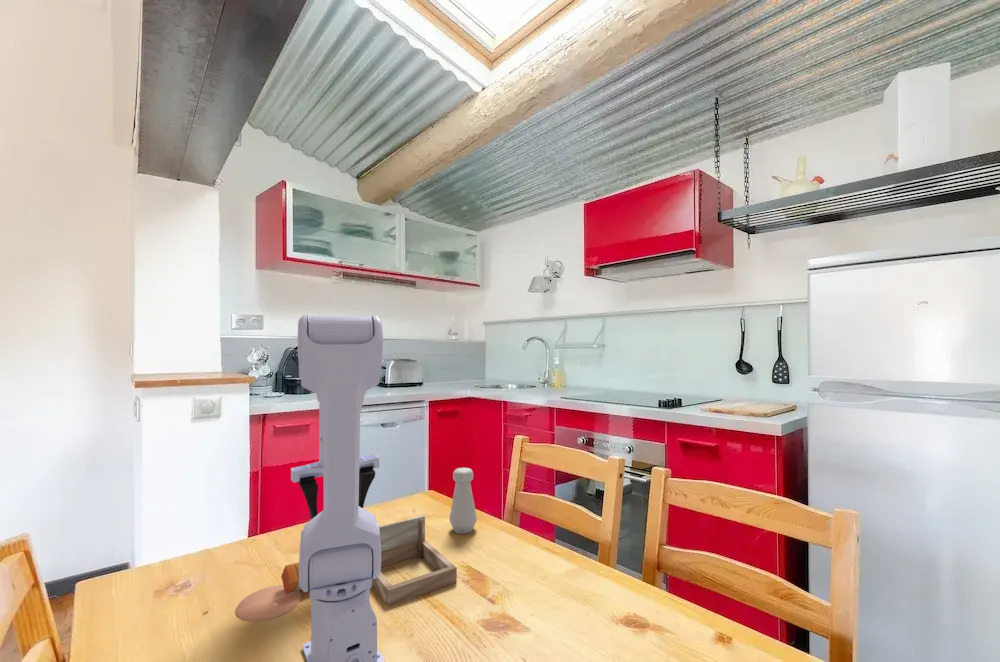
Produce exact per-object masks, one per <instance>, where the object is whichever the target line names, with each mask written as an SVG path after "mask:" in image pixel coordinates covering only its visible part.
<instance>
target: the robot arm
mask: <svg viewBox="0 0 1000 662" xmlns="http://www.w3.org/2000/svg"><path fill="white" fill-rule="evenodd" d="M297 322H298V323H297V359H298V377H299V379H300V381H301V382H300V383H301V387H302V388H303V389H306V390H308V391H309V392H313V393H314V394H316V400H317V403H319V404H318V405H319V406H318V408H319V413H318V414H319V415H318V418H319V420H318V421H319V429H318V431H319V434H318V436H319V444H318V445H319V449H318V450H319V455H318V456H319V457H318V458H319V460H318V461H316V462H313V463H308V464H305V465H300V466H296V467H291V468H290V480H291V482H292V483H294V484H295V483H297V484H299V485H298V486H299V487H300V489H301V491H302V493H303V495H304V498H305V500H306V501H305V502H306V505H307V507H308V511H309V517H310V518H309V519H310V520H309V521H308V522H306V523H305V524H304V525H303V529H302V530H301V532H300V541H299V543H300V544H299V554H298V555H299V558H298V559H299V560H298V562H299V587H300V588H301V589H300V590H302V592H303V593H307V592H309V601H310V641H307V642H305V643H303V644H302V651H303V653H304V657H305V659H306V662H385V661H386V660H385V659H384V656H383V655H382V654H381V652H380V651H379V648H378V620H377V615H376V613H375V611H374V609H373V607H372V605H371V602H370V598H371V597H370V592H371V591H370V589H371V588H372V587H373V585H372V579H376V578H377V576H378V575H379V573H380V572H382V567H381V543H380V530H379V521H378V519H377V517H376V515H375V514H374V513H372V512H370V511H368V510H366V509H365V508H364V505H365V502H366V501H365V500H366V498H367V494H368V492H369V489H370V487H371V485H372V483H373V481H374V479H375V478H376V470H374V469H379V468H380V456H378V455H377V454H371V455H362V456H360V449H361V448H360V446H361V445H360V443H361V441H360V440H361V439H360V438H361V412H362V407H363V404H364V399H365V395H366V393H367V392H368V391H369V390H371V389H372V388H375V387H376V386H378V385H379V384H380V377H381V375H382V373H383V372H382V370H383V367H382V366H383V348H384V346H383V345H384V343H383V342H384V338H383V337H384V335H383V334H384V333H383V323H382V320H381V319H380V318H379V317H378V315H371V316H352V315H351V316H346V315H345V316H344V315H343V316H342V315H341V316H340V315H339V316H337V315H334V316H329V315H321V316H320V315H308V314H302V316H301V317H300V318H298V321H297ZM321 477H323V510H322V511H320V512H319V513H318V492H319V484H318V483H317V479H315V478H321ZM371 577H372V578H371Z"/></svg>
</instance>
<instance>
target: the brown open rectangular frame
mask: <svg viewBox="0 0 1000 662" xmlns="http://www.w3.org/2000/svg"><path fill="white" fill-rule="evenodd" d="M379 530H380V543H381V568H384V567H387V566H391V565H393V564H397V563H401V562H404V561H406V560H410V559H414V558H417V557H418V559H423V558H424V560H426V561H427V562H428V563H429V564H430V565H431V566H432V567H433V568H434V569H435V571H432V572H428V573H426V574H425V573H424V574H422V575H419V576H416V577H414V578H411V579H407V580H405V581H402V582H399V583H395V584H393V585H392V584H391V582H390V581H389V580H388V578H387V577H386V576H385V574H384V573H383V572H382V571H381V572H380V573H379V575H378V576H377V578H376V579H372V587H373V588H374V589H375V591H376V592H377V593H378V595H379V596H380V598H382V600H383V601H384V602H385V604H386V605H387V606H388V607H390V606H392V605H396V604H398V603H401V602H404V601H408V600H410V599H413V598H416V597H419V596H422V595H425V594H428V593H430V592H433V591H436V590H439V589H442V588H445V587H448V586H450V585H453V584H455V583H457V579H458V577H457V573H458V571H457V569H458V568H457V566H456V565H454V564H453V562H451V561H450V560H449V559H448V558H447V557H446V556H444V555H443V554H442V553H441V552H440V551H439V550H437V548H435V547H434V546H433V545H432V544H430V543H429V542H428V541H427V540H426V516H425V515H420V516H415V517H412V518H408V519H407V518H406V519H405V520H400V521H399V520H398V521H396V522H392V523H388V524H384V525H383V524H382V525H380V526H379ZM371 578H372V577H371Z"/></svg>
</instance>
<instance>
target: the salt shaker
mask: <svg viewBox="0 0 1000 662" xmlns="http://www.w3.org/2000/svg"><path fill="white" fill-rule="evenodd" d="M452 473H453V474H452V479H453V481H454V482H455V486H454V491H453V496H452V503H451V506H450V507H451V508H450V514H449V522H450V526H451V528H452V529H453V532H454V533H456V534H458V535H467V534H469V533H472V532H473V530H474V528H475V525H476V523H477V520H478V517H477V512H476V507H475V500H474V495H473V491H472V485H471V482H472V481H473V480H474V471H473V469H472V468H469V467H457V468H455V469H454V471H453V472H452Z"/></svg>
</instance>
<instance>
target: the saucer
mask: <svg viewBox="0 0 1000 662" xmlns="http://www.w3.org/2000/svg"><path fill="white" fill-rule="evenodd" d="M301 600H302V591H301V589H300V590H297V591H294V592H291V593H287V594H285V591H284V586H283V584H280V585H273V586H268V587H264V588H261V589H259V590H257V591H253V592H252V593H251V594H249V595H247V596H245V597H244V598H243V599H242V600H241V601H240V602H239V603H238V604H237V606H236V609H235V610H236V611H235V613H236V614H235V615H236V616H237V617H239V619H240V620H244V621H247V622H261V621H267V620H272V619H275V618H278V617H280V616H283V615H285V614H287V613H289V612H291V611H292V610H293V609H295V608H296V607H297V606H298V605H299V603H301Z"/></svg>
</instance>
